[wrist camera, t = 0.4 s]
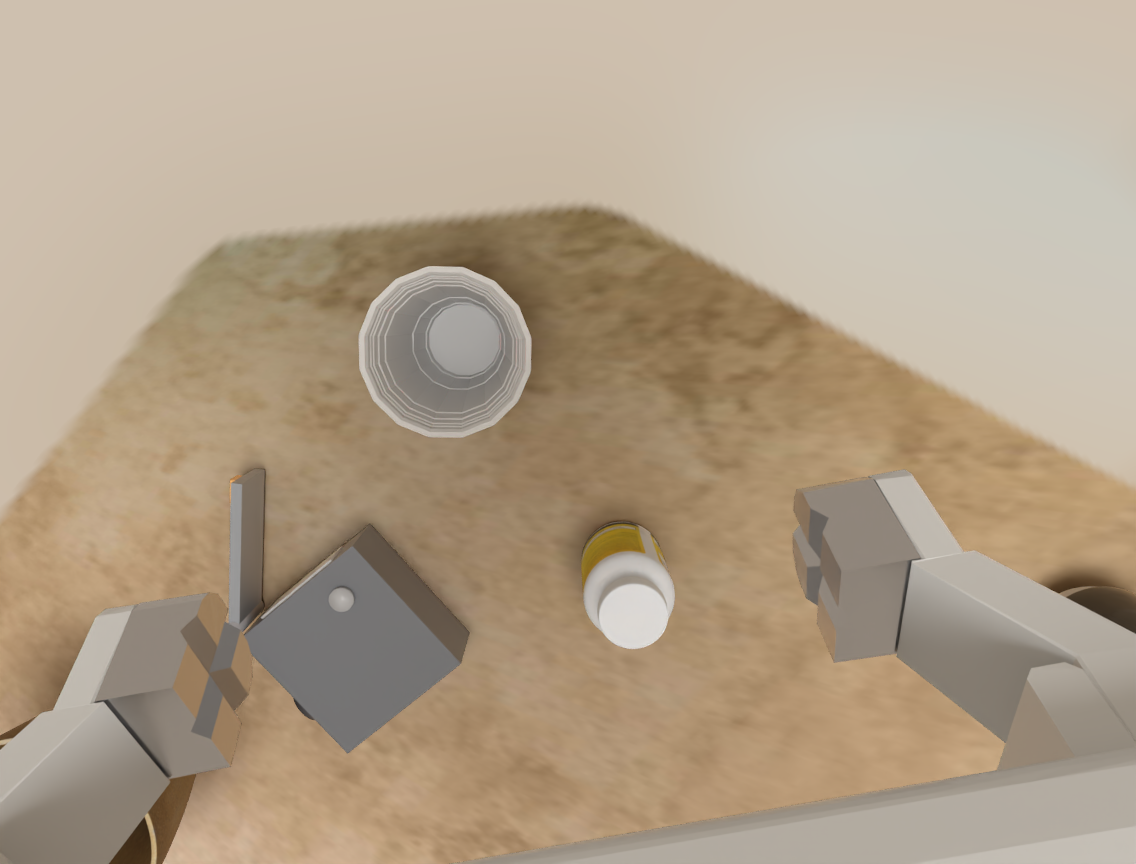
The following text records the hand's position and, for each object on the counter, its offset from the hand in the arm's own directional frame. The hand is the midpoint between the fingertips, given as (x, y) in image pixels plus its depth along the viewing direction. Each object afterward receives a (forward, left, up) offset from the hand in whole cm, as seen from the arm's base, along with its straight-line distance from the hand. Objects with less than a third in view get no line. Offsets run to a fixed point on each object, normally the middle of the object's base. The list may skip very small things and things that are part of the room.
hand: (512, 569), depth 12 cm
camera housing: (-8, +27, -52) cm, 59 cm away
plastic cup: (+4, +6, -52) cm, 53 cm away
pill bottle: (-17, +8, -52) cm, 56 cm away
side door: (+3, +29, -52) cm, 60 cm away
